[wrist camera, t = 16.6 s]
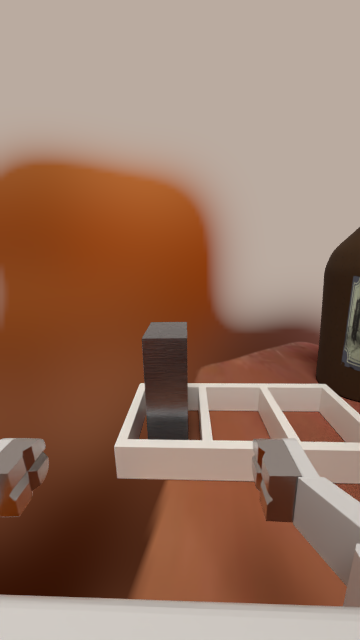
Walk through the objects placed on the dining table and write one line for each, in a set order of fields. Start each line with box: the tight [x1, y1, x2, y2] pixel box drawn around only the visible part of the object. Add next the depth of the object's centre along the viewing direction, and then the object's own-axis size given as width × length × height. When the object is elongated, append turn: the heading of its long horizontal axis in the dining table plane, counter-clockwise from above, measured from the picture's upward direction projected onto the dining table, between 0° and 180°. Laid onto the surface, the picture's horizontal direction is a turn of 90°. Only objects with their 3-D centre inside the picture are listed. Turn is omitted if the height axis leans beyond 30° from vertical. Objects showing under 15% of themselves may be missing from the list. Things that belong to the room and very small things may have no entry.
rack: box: [114, 383, 360, 484], centre depth 22 cm, size 21×10×3 cm, turn 88°
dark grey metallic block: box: [142, 322, 188, 440], centre depth 21 cm, size 4×5×11 cm
